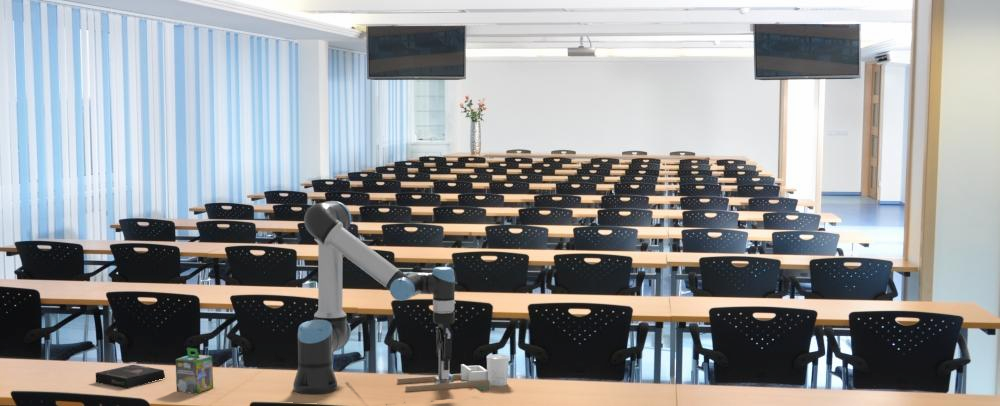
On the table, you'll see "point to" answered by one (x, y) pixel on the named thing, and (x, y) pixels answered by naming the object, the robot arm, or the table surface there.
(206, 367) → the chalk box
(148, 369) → the flat black box
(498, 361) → the white cup
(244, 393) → the table surface
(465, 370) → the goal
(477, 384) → the pitch
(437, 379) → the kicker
